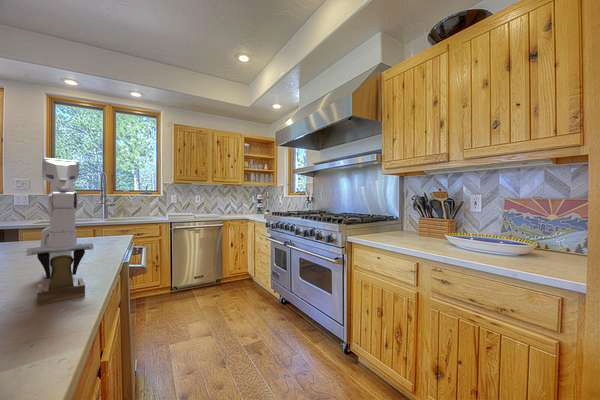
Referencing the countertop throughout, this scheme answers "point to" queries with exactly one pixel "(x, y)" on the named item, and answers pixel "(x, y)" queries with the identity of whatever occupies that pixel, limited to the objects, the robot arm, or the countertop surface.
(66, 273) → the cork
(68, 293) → the spice rack
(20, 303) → the countertop surface
